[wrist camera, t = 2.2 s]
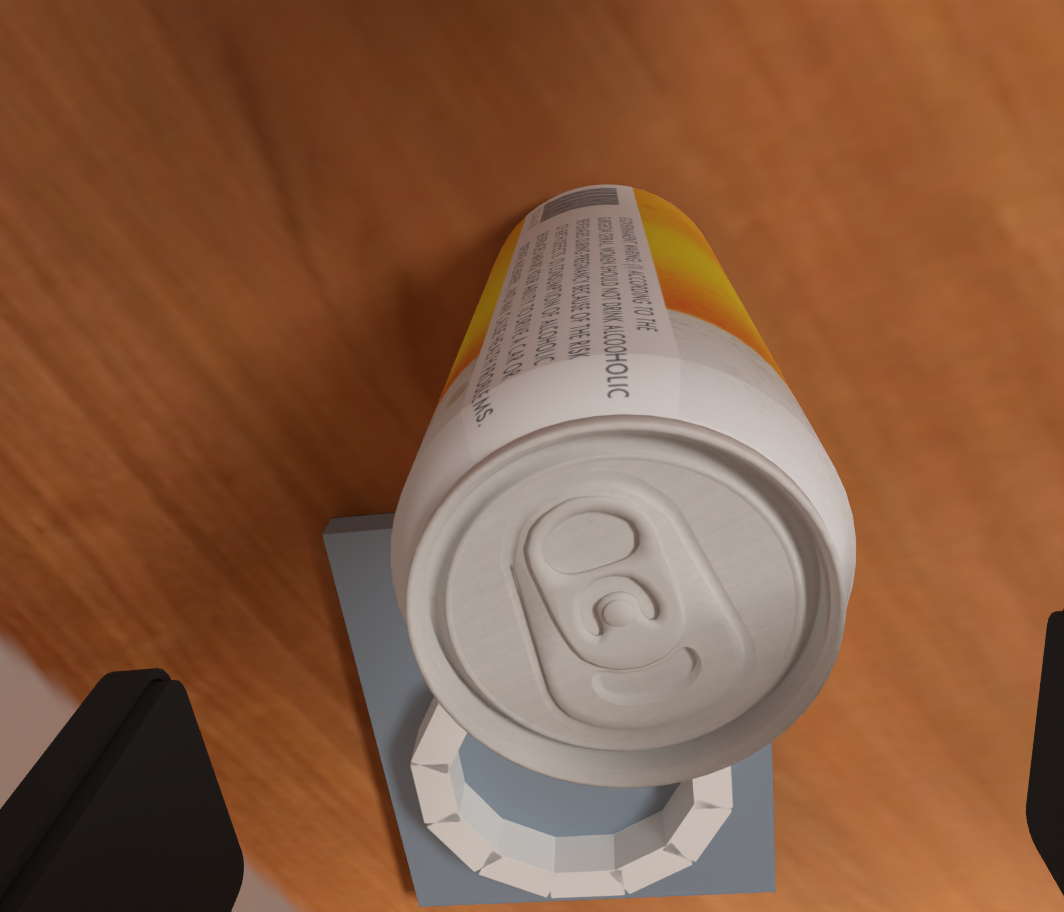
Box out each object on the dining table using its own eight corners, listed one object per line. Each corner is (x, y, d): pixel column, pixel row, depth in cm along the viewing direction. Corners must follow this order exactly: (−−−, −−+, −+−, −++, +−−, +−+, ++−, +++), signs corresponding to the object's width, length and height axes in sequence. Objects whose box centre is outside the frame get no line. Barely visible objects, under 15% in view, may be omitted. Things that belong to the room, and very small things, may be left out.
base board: (330, 518, 28) (308, 561, 26) (759, 480, 26) (775, 522, 24) (423, 883, 34) (412, 943, 32) (770, 868, 33) (783, 929, 31)
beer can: (540, 428, 26) (489, 854, 13) (455, 231, 24) (282, 492, 10) (744, 357, 25) (930, 746, 11) (675, 142, 23) (805, 306, 9)
